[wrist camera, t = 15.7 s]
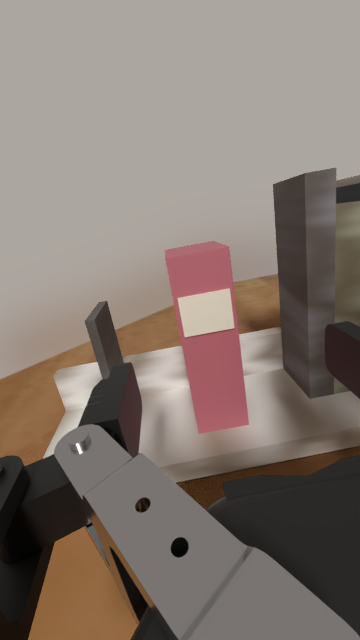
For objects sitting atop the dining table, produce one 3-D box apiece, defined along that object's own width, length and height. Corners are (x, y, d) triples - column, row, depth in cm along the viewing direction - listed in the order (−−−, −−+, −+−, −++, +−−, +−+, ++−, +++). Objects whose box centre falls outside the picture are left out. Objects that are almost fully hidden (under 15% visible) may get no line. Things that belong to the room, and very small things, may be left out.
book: (232, 384, 24) (213, 241, 20) (249, 426, 19) (229, 246, 15) (191, 392, 24) (164, 250, 20) (198, 435, 19) (165, 258, 15)
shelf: (345, 363, 27) (350, 171, 21) (437, 430, 18) (485, 133, 12) (75, 415, 26) (8, 234, 21) (34, 510, 18) (-99, 241, 12)
